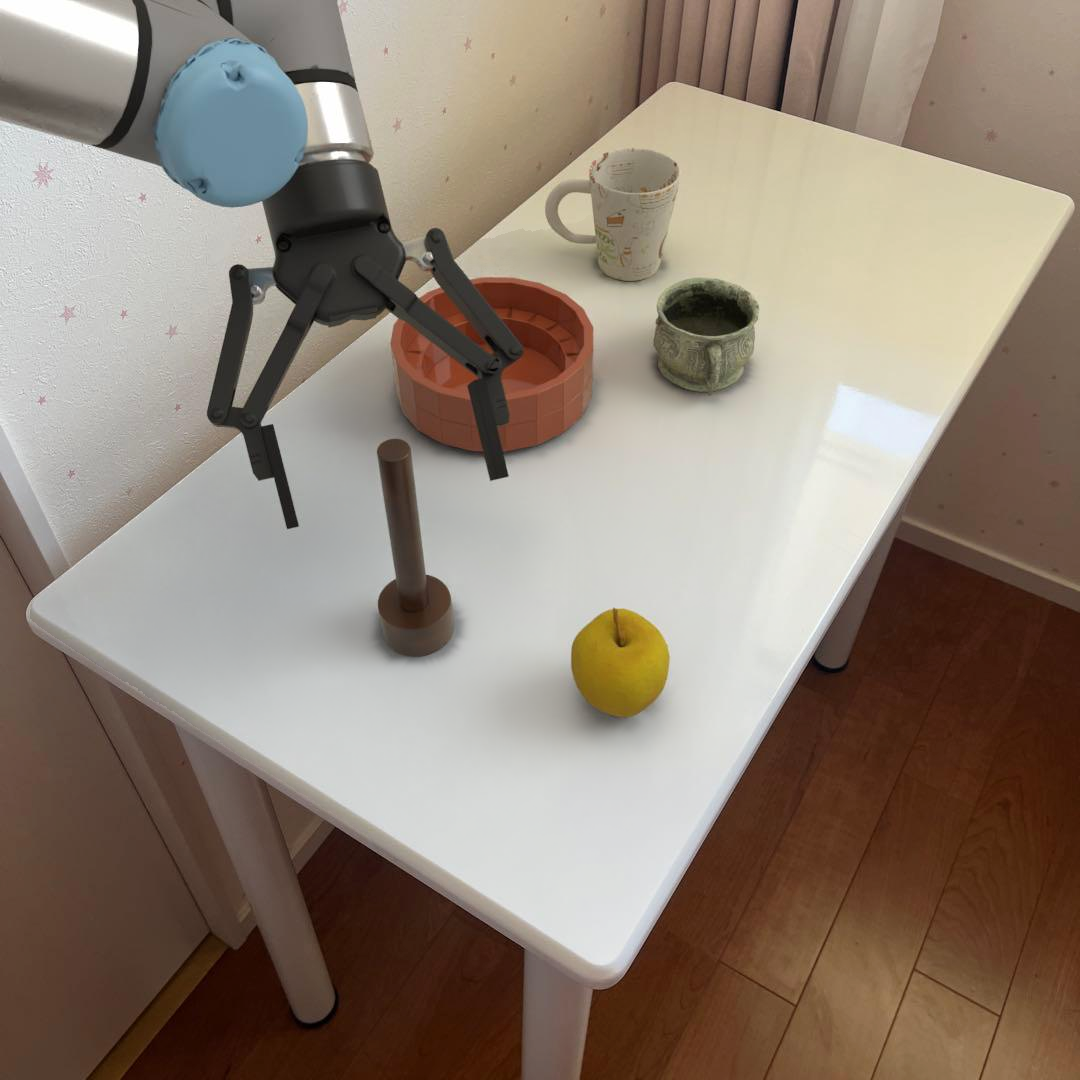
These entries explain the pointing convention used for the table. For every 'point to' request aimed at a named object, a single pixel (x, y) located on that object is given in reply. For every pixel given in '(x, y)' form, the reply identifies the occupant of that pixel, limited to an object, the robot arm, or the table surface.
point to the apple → (620, 662)
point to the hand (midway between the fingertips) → (398, 503)
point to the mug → (624, 210)
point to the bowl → (529, 383)
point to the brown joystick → (409, 565)
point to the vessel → (704, 333)
